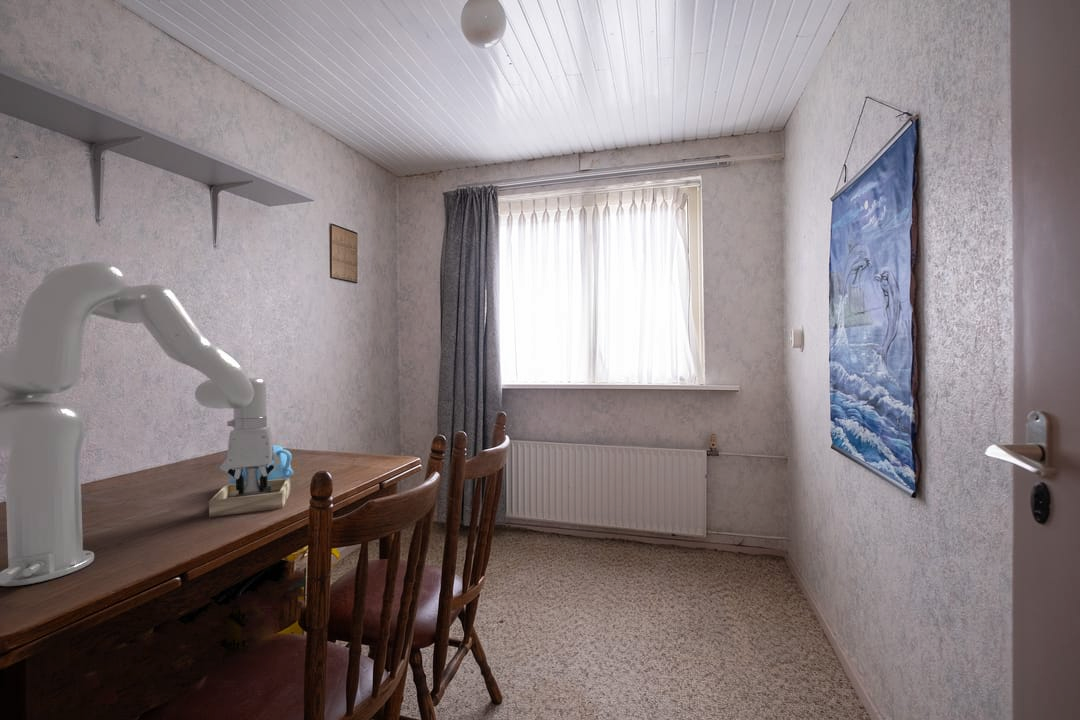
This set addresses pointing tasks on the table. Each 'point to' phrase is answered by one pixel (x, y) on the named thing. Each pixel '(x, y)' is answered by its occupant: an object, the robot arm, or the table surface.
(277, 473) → the decorative pot
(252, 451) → the robot arm
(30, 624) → the table surface
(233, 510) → the beech box
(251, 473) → the rook chess piece
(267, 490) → the socket
